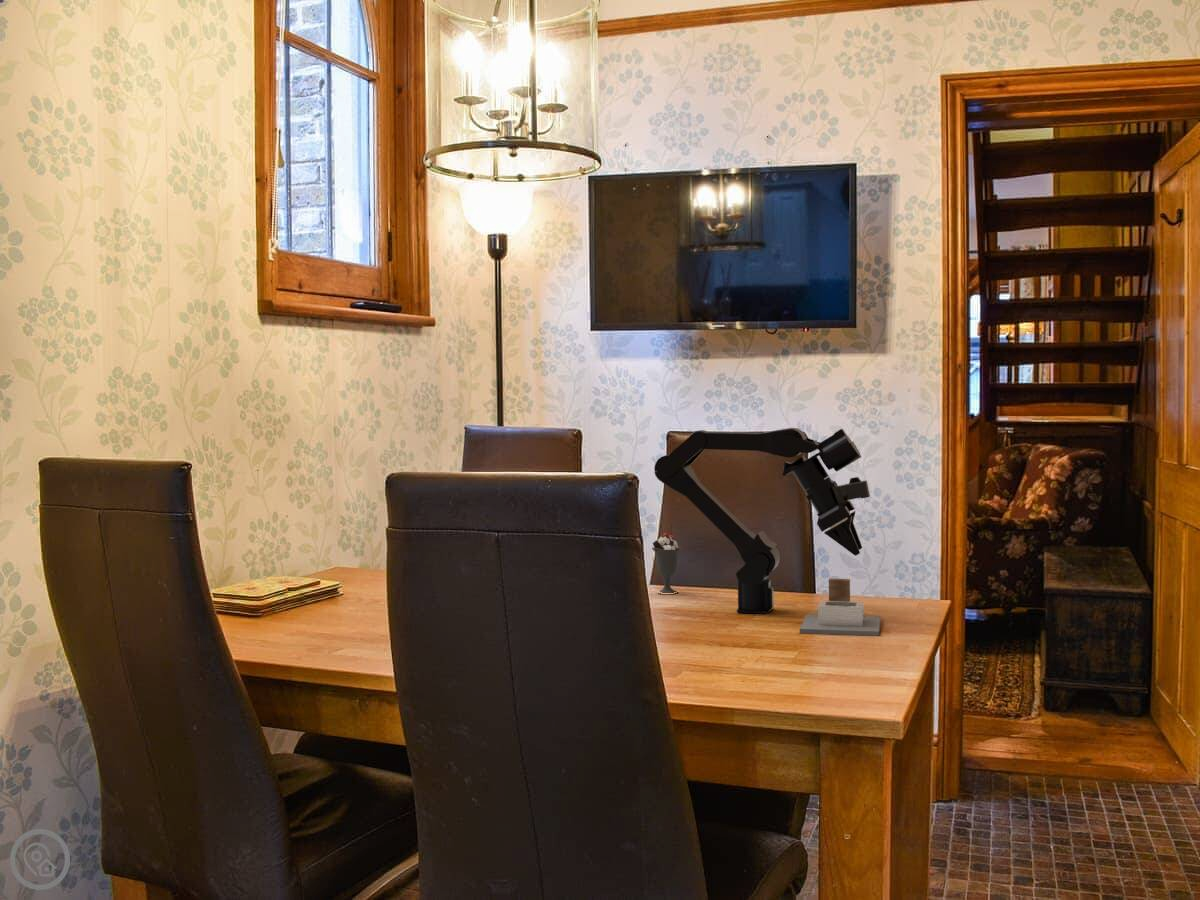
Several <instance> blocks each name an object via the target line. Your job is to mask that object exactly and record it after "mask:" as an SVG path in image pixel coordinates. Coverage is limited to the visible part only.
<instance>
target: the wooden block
mask: <svg viewBox="0 0 1200 900" xmlns="http://www.w3.org/2000/svg"><path fill="white" fill-rule="evenodd" d="M828 601H851V579H850V578H831V577H829V578H828Z"/></svg>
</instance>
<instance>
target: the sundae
mask: <svg viewBox="0 0 1200 900" xmlns="http://www.w3.org/2000/svg"><path fill="white" fill-rule="evenodd" d="M672 528H673V525H669V528H668V530H667V532H664V533H663V534H662V535H661V536H660V537H659V538H658V539H657V540H655V541H653V542H652V545H653V546H652V547H651V550H653V552H654V554H655V560H656V561H655V563H656V567H657V572H658V573H659V575H661V576H662V577H663V579H664V586H663V588H662V589H661V590H659V591H660V592H662V593H674V592H676V591H677V590H675V589H673V588H672V587H671V583H670V580H671V577H672V576H674V575H675V573H676V571H677V566H678V559H679V551H680V550H681V549H682V547H681V546H679V544H678V542H677V541H676V540H675V536H674V535H673V534H672V533H673V532H672V530H671V529H672ZM669 531H670V534H669V533H668V532H669Z"/></svg>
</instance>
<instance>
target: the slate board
mask: <svg viewBox="0 0 1200 900" xmlns="http://www.w3.org/2000/svg"><path fill="white" fill-rule="evenodd" d="M881 619H882V617H881V616H873V615H864V621H863V626H833V625H818V614H813V613H812V614H808V613H807V614H806V615H805V616H804V620H803V621H802V623H801V625H800V628H799V634H814V635H815V634H816V635H842V636H843V635H844V636H868V637H869V636H870V637H872V636H873V637H880V629H881Z"/></svg>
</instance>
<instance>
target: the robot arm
mask: <svg viewBox="0 0 1200 900" xmlns="http://www.w3.org/2000/svg"><path fill="white" fill-rule="evenodd" d="M705 450H719V451H720V450H721V451H722V450H723V451H725V450H726V451H732V450H733V451H753V452H754V451H755V452H756V451H757V452H762V453H767V454H770V455H774V456H779V457H784V458H794V457H796V456H797V457H798V456H799V455H801V454H811V453H813V452H816V451H817V450H818V451H819V452H817V453H815V454H814V455H812V456H811V457H809V458H806V457H805V456H804V455H801V456H800V457H798V458H797V459H795V460H793V461H792V462H789V461H784V462H783V470H782V472H781V475H782V476H783V477H785V476H787V475H789V474H791V473H792V474H793V475H794V477H795V479H796V480H797V482H798V483H799V485H800V487H801V489H802V490H803V491H804V493H805V497H806V499H807V500H808V501H809V502H810V503H811V504H812V506H813V508H814V509H815V511H816V513H817V514H816V515H817V516H818V517H817V522H816V525H817V526H818V528H819V530H820V531H821V532H822V533H823V534H824V535H826V536H827V537H829V539H832V540H833V541H834V542H836V544H838V545H840V546H841V547H843V549H845V550H846V551H847V552H849V553H851V554H852V555H853V556H855V557H856V556H858V555H860V554H861V552H860V550H861V549H863V546H862V543H861V540H860V538H859V535H858V533H857V532H858V531H857V529H856V526H855V523H854V519H855V515H856V513H857V512H856V510H855V509H856V508H855V506H854V504H853V503H852V501H851V500H855V499H867V498H870V497H871V494H870V490H869V489H870V488H869V484H868V481H867V480H861V479H860V477H859V476H855V477H850V478H849V482H848V483H845V484H840V485H838V484H837V482H836V480H832V478H831V476H830V475H829V474H828V472H827V471H826V469H827V470H829V471H830V470H832V469H833V470H834V471H835V472H839V471H841V470H842V469H844V468H846V467H847V466H849V465H852V463H854V462H856V461H857V460H859V459H861V458H862V455H861V453H860V450H859V449H858V447H857V446H856V444H855V442H854V441H852V440H851V438H850V437H849V435H847V433H846V432H845V430H844V429H843V428H840V429H838V430H836V431H835V432H834V433H833V434H832V435H831V436H829V437H827V438H826V439H824V440H823V441H821V442H819V441H818V440H817V439H816V440H814V439H812V438H808V437H807V435H806V434H805V433H804V431H802V429H800V428H797V427H788V428H783V429H774V430H769V431H763V432H750V431H748V432H747V431H744V432H743V431H742V432H741V431H707V430H705V429H704V430H703V429H701V430H699V429H698V430H694V431H693V432H691V434H690V435H689V436H688V437H687V438H686V439H685V440H684V441H683V442H682V443H680V445H678V446H677V447H676V448H675V449H673V450H672V451H671V452H670V453H669V454H666V455H663V456H660V458H658V459H657V460H656V462H655V464H654V470H653V471H654V472H653V473H654V475H655V477H656V479H657V480H658V481H660V482H661V483H662V484H664V485H665V486H667V487H668V488H669V489H671V490H673V491H675V492H676V493H678V494H680V495H682V496H684V497H685V498H686V499H687V500H688V501H689V502H690V503H691V504H692V505H693V506H694V507H695V508H696V509H697V510H699V512H700V513H701V514H702V515H703V516H705V517H706V519H707V520H708V521H709V522H710V523H711V524H713V525H714V527H716V529H717V530H719V531H720V532H721V533H722V534H723V535H724V536H725V538H727V539H728V541H730V543H732V545H733V546H734V547H735V550H736V551H737V553H738V555H739V556H740V559H741V560H742V561H743V563H744V565H743V566H742V567H740V569H738V571H736V573H735V576H736V578H737V606H738V607H737V609H736V613H739V614H740V613H741V614H742V613H747V614H749V613H750V614H769V613H770V612H771V610H773V608H774V607H775V605H774V603H775V602H774V587H773V586H771V579H770V578H769V577H770V575H771V573H772V572H773V571H774V570H775V569H777V567H778V565H779V563H780V561H781V560H780V559H781V556H780V551H779V550H778V548H777V547H776V546H777V545H778V544H777V543H776V542H774V541H772V540H771V539H770V538H769V537H768V535H767V534H766V533H765V532H764V531H763V530H761V531H760V532H757V534H756V533H754V532H752V531H751V530H749V529H748V528H747V527H746V526H745V525H744V524H743V523H742V521H740V520H739V519H738V518H737V517H735V515H734V514H733V513H732V512H730V510H729V509H728V508H727V507H726V506H725V505H724V504H723V503H722V502H721V501H720V500H718V498H716V496H715V495H714V494H712V493H711V492H710V490H708V489H707V488H706V487H705V486H704V485H703V483H702V482H701V481H700V480H699V478H698V476H697V474H696V471H695V470H694V468H693V467H692V466H691V465H692V464H693V463H694V462H695V461H696V460H697V459H698V457H699V456H700V455H701V454H702V453H703V452H705ZM818 457H819V458H820V460H821V461H822V462H821V461H820V460H819V458H818ZM822 463H823V464H822ZM823 465H824V466H823ZM825 467H826V468H825Z"/></svg>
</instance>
